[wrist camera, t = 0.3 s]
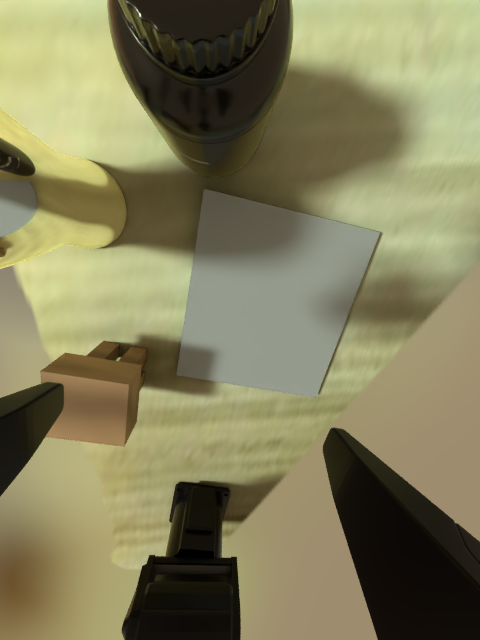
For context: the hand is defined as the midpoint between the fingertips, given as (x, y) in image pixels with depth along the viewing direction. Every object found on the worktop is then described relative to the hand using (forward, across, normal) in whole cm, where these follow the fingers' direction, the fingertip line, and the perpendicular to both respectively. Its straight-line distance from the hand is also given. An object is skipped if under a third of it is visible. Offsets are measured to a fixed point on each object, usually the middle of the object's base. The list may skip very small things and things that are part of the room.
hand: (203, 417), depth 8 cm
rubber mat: (+14, -4, -1) cm, 14 cm away
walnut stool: (+14, +8, +8) cm, 18 cm away
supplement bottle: (+14, +3, -13) cm, 19 cm away
